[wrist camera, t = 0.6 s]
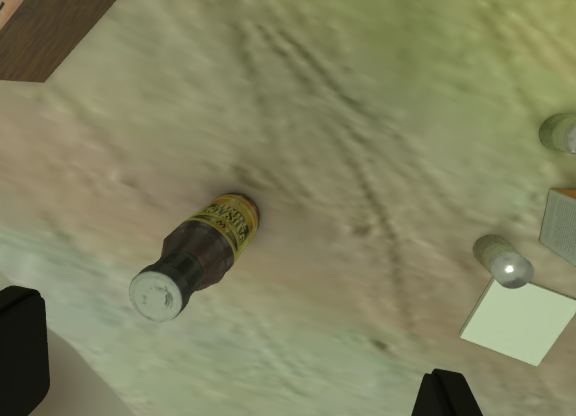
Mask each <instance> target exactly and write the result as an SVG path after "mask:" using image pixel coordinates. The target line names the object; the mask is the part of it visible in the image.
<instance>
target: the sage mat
mask: <svg viewBox="0 0 576 416" xmlns="http://www.w3.org/2000/svg"><path fill="white" fill-rule="evenodd" d="M575 312H576V299H574V298H571V297H569V296H566V295H563V294H560V293H558V292H555V291H552V290H550V289H547V288H544V287H542V286H539V285H536V284H534V283H531V282H528V283H527V284H526V285H524V286H523V287H520V288H517V289H508V288H505V287H503V286H501V285H500V284H499V283H498V282H497V281H496V280H495V279H494V277H493V278H492V279H491V281H490V283H489V284H488V286H487V288H486V289H485V291H484V293H483V294H482V296H481V298H480V299H479V301H478V303H477V304H476V306H475V308H474V309H473V311H472V313H471V314H470V316H469V318H468V319H467V321H466V323H465V324H464V326H463V328H462V329H461V331H460V333H459V334H458V335H459V337H460V338H463V339H465V340H468V341H471V342H473V343H476V344H479V345H482V346H484V347H487V348H490V349H492V350H495V351H498V352H500V353H503V354H506V355H508V356H511V357H514V358H516V359H519V360H522V361H524V362H527V363H530V364H532V365H535V366H538V364H539V363H540V362H541V360H542V359H543V357H544V356H545V355H546V353H547V352H548V350H549V349H550V348H551V346H552V345H553V343H554V342H555V340H556V339H557V338H558V336H559V335H560V333H561V332H562V331H563V329H564V328H565V326H566V325H567V324H568V322H569V321H570V319H571V318H572V317H573V315H574V314H575Z"/></svg>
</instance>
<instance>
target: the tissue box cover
mask: <svg viewBox="0 0 576 416" xmlns="http://www.w3.org/2000/svg"><path fill="white" fill-rule="evenodd" d="M115 1H116V0H0V80H9V81H26V82H45V81H46V79H47V78H48V77H49V76H50V75H51V74H52V73H53V72H54V70H55V69H56V68H57V67H58V66H59V65H60V64H61V62H62V61H63V60H64V59H65V58H66V57H67V56H68V55H69V53H70V52H71V51H72V50H73V49H74V48H75V47H76V45H77V44H78V43H79V42H80V41H81V40H82V39H83V37H84V36H85V35H86V34H87V33H88V32H89V31H90V30H91V28H92V27H93V26H94V25H95V24H96V23H97V22H98V20H99V19H100V18H101V17H102V16H103V15H104V14H105V13H106V11H107V10H108V9H109V8H110V7H111V6H112V5H113V3H114V2H115Z"/></svg>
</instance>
